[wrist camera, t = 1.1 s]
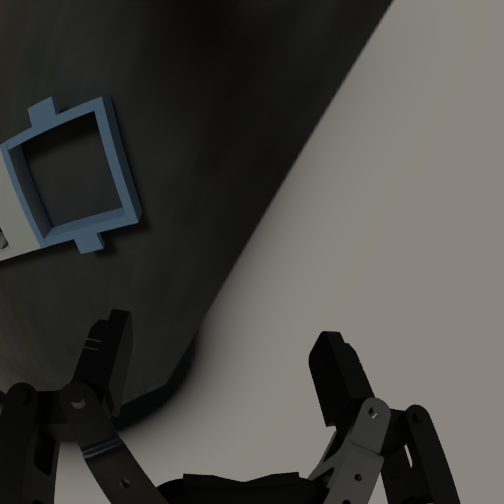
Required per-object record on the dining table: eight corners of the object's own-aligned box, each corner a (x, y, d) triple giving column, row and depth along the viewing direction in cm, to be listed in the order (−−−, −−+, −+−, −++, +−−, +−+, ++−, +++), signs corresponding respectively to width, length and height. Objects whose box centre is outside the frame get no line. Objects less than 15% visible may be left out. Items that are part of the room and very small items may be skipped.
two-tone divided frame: (-62, 174, 19) (-73, 182, 17) (106, 75, 21) (97, 76, 19) (-18, 271, 29) (-25, 282, 27) (148, 227, 31) (144, 239, 29)
